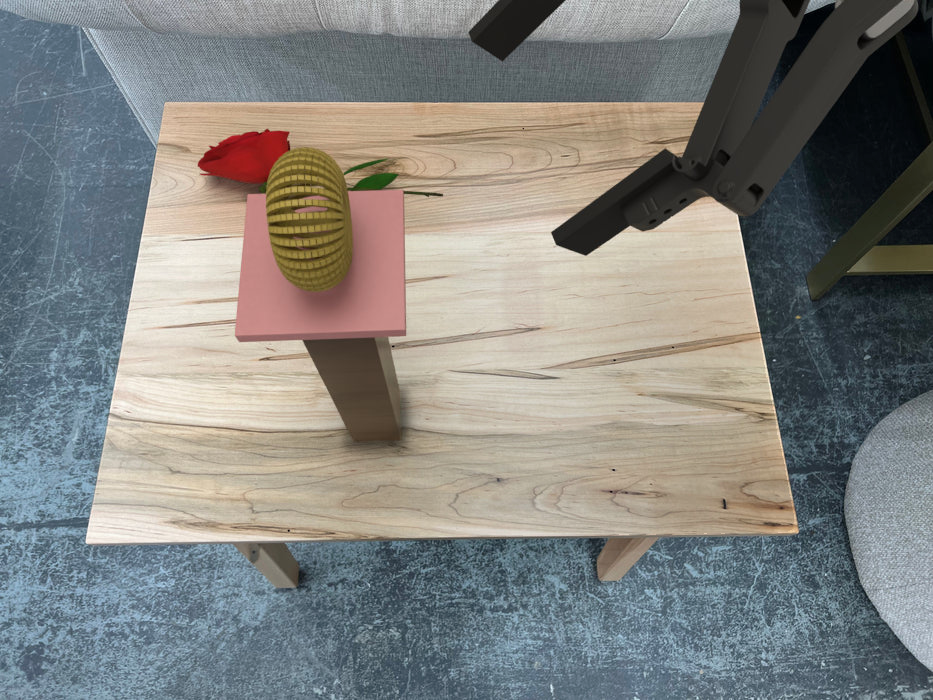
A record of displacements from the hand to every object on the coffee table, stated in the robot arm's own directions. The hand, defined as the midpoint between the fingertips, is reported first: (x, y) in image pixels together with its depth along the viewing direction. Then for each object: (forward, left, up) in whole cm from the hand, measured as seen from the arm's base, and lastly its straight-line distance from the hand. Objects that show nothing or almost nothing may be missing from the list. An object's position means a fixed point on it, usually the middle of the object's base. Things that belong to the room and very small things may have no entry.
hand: (523, 139), depth 36 cm
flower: (+27, +18, -41) cm, 52 cm away
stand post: (-2, +12, -41) cm, 42 cm away
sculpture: (-2, +12, -8) cm, 14 cm away
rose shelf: (-2, +12, -9) cm, 15 cm away
